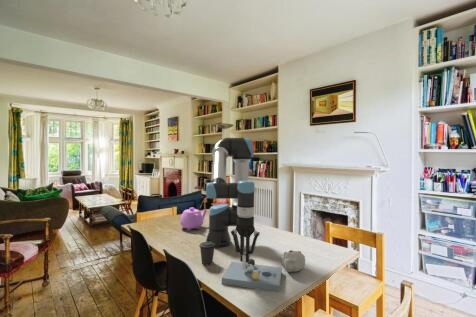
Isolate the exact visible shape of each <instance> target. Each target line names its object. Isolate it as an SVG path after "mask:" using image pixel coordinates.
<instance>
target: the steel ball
mask: <svg viewBox="0 0 476 317" xmlns="http://www.w3.org/2000/svg"><path fill="white" fill-rule="evenodd" d="M246 270H247V272H249V273H251V272H253V270H254V267H253V265H252V264H248V265H247V266H246Z"/></svg>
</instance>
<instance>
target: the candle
mask: <svg viewBox="0 0 476 317" xmlns="http://www.w3.org/2000/svg"><path fill="white" fill-rule="evenodd" d="M281 263H282V265H283V267H284V269H285V271H286V272H287V273H293V272H298V271H301V270H302V269H303V268H304V267H305V266H306V257H305V255H304V254H303V253H302V251H297V250H289V251H284V252H283V255H282V257H281Z"/></svg>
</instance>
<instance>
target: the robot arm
mask: <svg viewBox="0 0 476 317" xmlns="http://www.w3.org/2000/svg"><path fill="white" fill-rule="evenodd" d="M254 151H255V150H254V143H253V140H252V139H251V138H249V137H224V138H221V139H220V140H218V141H217V142H216V143H215V144H214V146H213V148H212V151H211V156H212V166H211V167H212V169H211V179H210V182H206V185H205V196H206V198H208V199H213V200H217V199H219V200H220V199H229V200H230V199H233V200H234V201H233V202H232V203H231V206H229V204H227V203H219V204H214V205H212V206H210V208H209V211H208V212H209V213H208V217H209V218H208V221H209V222H208V233H207V236H206V239H205V242H213V243H215V247H214V248H216V249H217V248H225V247H228V246H230V245H231V243H232V241H231V240H232V239H231V235H232V238H233V243H234V246H235V251H236V253H237V254H239V255H240V256H239V257H240V259H239V260H240V261H239V262H240V263H242V270H246V266H247V262H248V261H249V259H250V255H253V253H254V250H255V247H256V243H257V240H258V237H259V236H260V231H257V230H256V228H255V217H254V216H255V193H256V192H255V191H256V187H255V184H256V183H255V181H253V180H249V163H250V161H251V160H252V158H253V157H254V156H255V155H254ZM229 157H231V159H232V161H233V163H234V182H227V158H229ZM229 227H235V228H234V229H232V230H230V232H229ZM230 233H231V235H230ZM252 235H253V236H254V237H253V239H252V243H250V242H251V236H252ZM238 236H239V237H238ZM239 239H240V241H239ZM250 244H251V247H250Z"/></svg>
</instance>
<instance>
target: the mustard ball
mask: <svg viewBox="0 0 476 317" xmlns="http://www.w3.org/2000/svg"><path fill="white" fill-rule="evenodd" d="M252 278H253V279H254V280H257V279H258V278H259V274H258V272H253V274H252Z"/></svg>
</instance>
